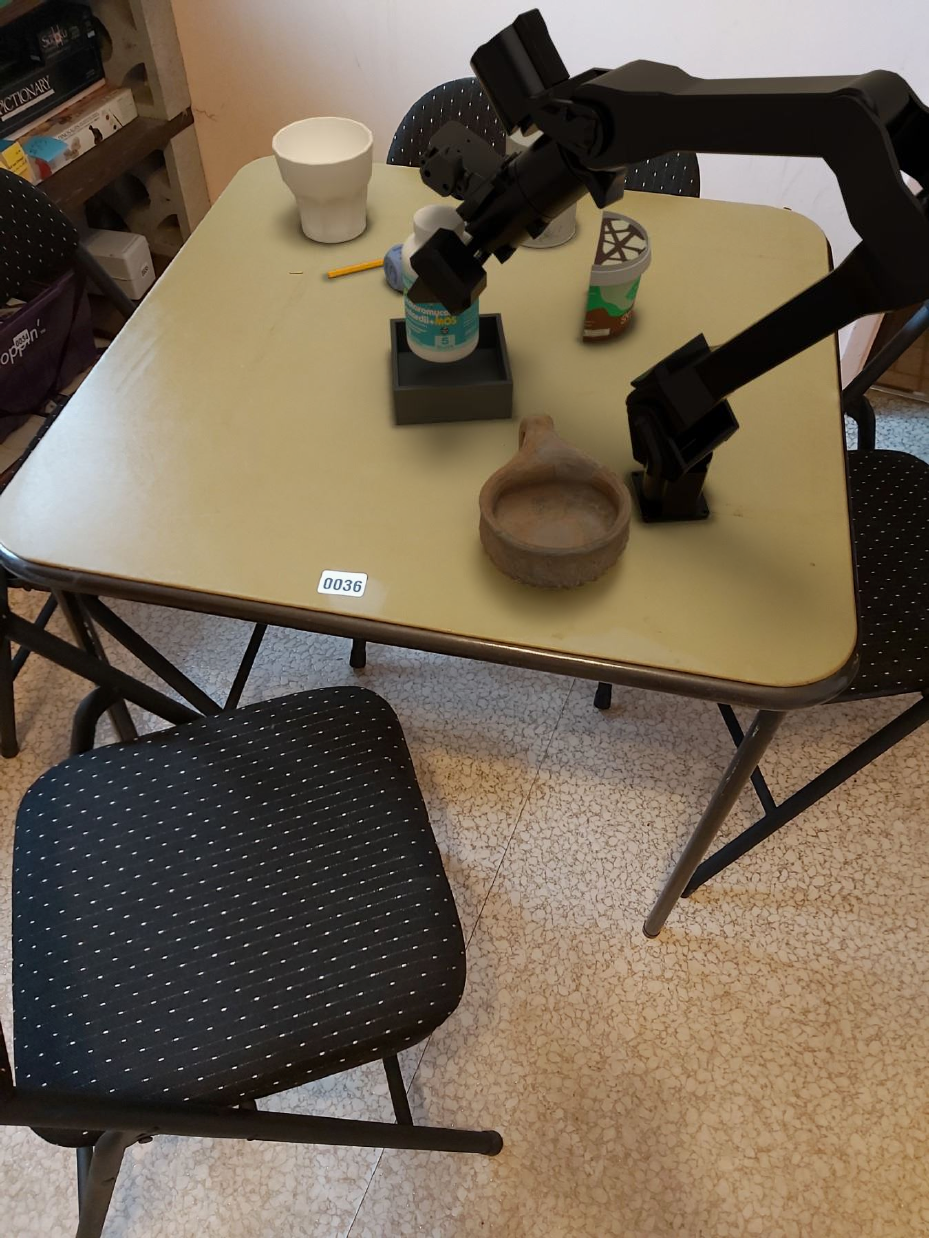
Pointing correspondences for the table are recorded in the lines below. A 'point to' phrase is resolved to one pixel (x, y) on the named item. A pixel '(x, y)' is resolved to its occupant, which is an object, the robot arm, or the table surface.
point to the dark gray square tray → (452, 379)
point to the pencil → (355, 268)
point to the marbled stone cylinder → (560, 226)
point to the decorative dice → (394, 267)
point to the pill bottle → (431, 322)
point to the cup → (327, 174)
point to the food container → (615, 276)
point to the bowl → (553, 512)
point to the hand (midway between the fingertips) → (428, 277)
